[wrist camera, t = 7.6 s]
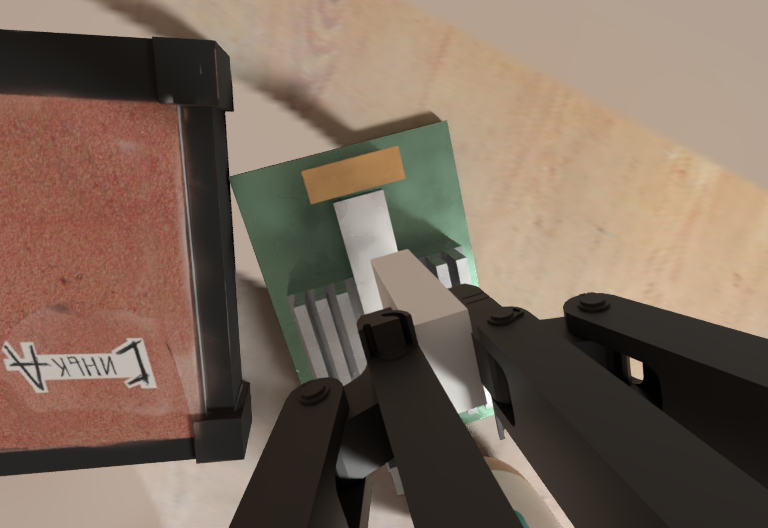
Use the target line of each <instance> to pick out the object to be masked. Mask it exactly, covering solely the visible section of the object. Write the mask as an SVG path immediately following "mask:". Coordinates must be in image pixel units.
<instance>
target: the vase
mask: <svg viewBox="0 0 768 528" xmlns="http://www.w3.org/2000/svg"><path fill="white" fill-rule="evenodd" d="M483 457H484V459H485V461H486V463H487V464H488V466H489V468H490V470H491V471H492V473H493V475H494V476H495V478H496V480H497V482H498V483H499V485H500V487H501V489H502V490H503V492H504V494H505V496H506V497H507V499H508V501H509V502H510V504H511V506H512V508H513V509H514V511H515V513H516V515H517V516H518V518H519V520H520V522H521V523H522V525H523V527H524V528H562V526H561V525H560V523H559V522H558V520H557V519H556V517H555V516H554V514H553V513H552V512H551V510H550V509H549V507H548V506H547V505H546V503H545V502H544V501H543V499H542V498H541V497H540V495H539V494H538V493H537V492H536V490H535V489H534V488H533V487H532V485H531V484H530V483H529V482H528V481H527V480H526V479H525V478H524V477H523V476H522V475H521V474H520V473H519V472H518V471H517V470H516V469H514V468H513V467H511V466H510V465H508V464H506V463H505V462H502V461H500V460H498V459H495V458H491V457H486V456H483Z"/></svg>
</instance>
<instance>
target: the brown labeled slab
mask: <svg viewBox="0 0 768 528" xmlns="http://www.w3.org/2000/svg"><path fill="white" fill-rule="evenodd" d="M225 111H226V112H234V103H233V87H232V77H231V73H230V57H229V56H228V54H227V53H226V52H225V51H224V50H223V49H222V48H221V47H220V46H219V45H218V43H217V42H216V41H213V40H197V39H181V38H164V37H152V39H150V38H133V37H117V36H100V35H84V34H68V33H52V32H35V31H17V30H2V29H0V476H9V475H19V474H32V473H42V472H55V471H66V470H77V469H89V468H100V467H111V466H122V465H134V464H145V463H156V462H168V461H179V460H190V459H196V464H198V463H209V462H220V461H231V460H243V459H244V457H245V452H246V448H247V443H248V438H249V433H250V428H251V423H252V411H251V395H250V383H242V373H241V358H240V343H239V328H238V313H237V298H236V283H235V271H236V265H235V251H234V235H233V220H232V207H231V206H232V205H231V191H230V181H229V178H228V177H230V175H229V161H228V147H227V146H228V145H227V131H226V116H225Z"/></svg>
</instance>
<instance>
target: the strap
mask: <svg viewBox="0 0 768 528" xmlns="http://www.w3.org/2000/svg"><path fill="white" fill-rule="evenodd" d="M333 205H334V208H335V212H336V215H337V219H338V222H339V226H340V230H341V233H342V237H343V240H344V244H345V247H346V251H347V254H348V258H349V261H350V265H351V269H352V272H353V276H354V279H355V283H356V286H357V290H358V293H359V297H360V300H361V304H362V308H363V311H364V315H365V314H368V313H372V312H375V311H378V310H382V309H383V306H382V302H381V299H380V295H379V291H378V287H377V284H376V280H375V276H374V273H373V269H372V265H371V261H370V260H371V259H374V258H378V257H381V256H384V255H388V254H391V253H395V252H398V250H397V246H396V242H395V237H394V233H393V229H392V225H391V221H390V216H389V212H388V208H387V204H386V200H385V196H384V191H383V189H382V188H378V189H374V190H371V191H367V192H363V193H360V194H356V195H352V196H349V197H345V198H341V199H338V200H334V201H333Z"/></svg>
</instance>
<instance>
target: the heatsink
mask: <svg viewBox="0 0 768 528" xmlns="http://www.w3.org/2000/svg"><path fill="white" fill-rule="evenodd" d="M228 178H229V181H230V183H231V186H232V189H233V192H234V195H235V198H236V200H237V203H238V206H239V209H240V212H241V215H242V218H243V220H244V223H245V226H246V229H247V232H248V234H249V238H250V241H251V243H252V246H253V249H254V252H255V255H256V258H257V261H258V263H259V266H260V269H261V272H262V275H263V278H264V281H265V284H266V286H267V289H268V292H269V295H270V298H271V301H272V304H273V306H274V309H275V312H276V315H277V318H278V321H279V324H280V326H281V329H282V332H283V335H284V338H285V341H286V344H287V346H288V349H289V352H290V355H291V358H292V361H293V364H294V366H295V369H296V372H297V375H298V378H299V381H300V384H301V385H302V384H303V383H307V381H310V380H315V379H318V378H326V377H331V378H336V379H338V380H339V381H340V382H342V384H343V386H344V385H346V384H348V383H350V382H351V381H353V380H354V379H356V378H357V377H358V376H359V375H361V374H362V372H363V371H364V370H365V368H366V365H367V361H366V358H365V354H364V351H363V347H362V344H361V340H360V337H359V334H358V329H357V325H356V324H357V322H358V320H359V318H360V316H362V315H364V311H363V308H362V304H361V300H360V297H359V293H358V290H357V286H356V283H355V279H354V276H353V272H352V269H351V265H350V261H349V258H348V254H347V251H346V247H345V244H344V240H343V237H342V233H341V230H340V226H339V222H338V219H337V215H336V212H335V208H334V205H333V201H334V200H338V199H341V198H345V197H349V196H352V195H356V194H360V193H363V192H367V191H371V190H374V189H378V188H382V189H383V191H384V196H385V200H386V204H387V208H388V212H389V216H390V221H391V225H392V229H393V233H394V237H395V242H396V246H397V250H398V251H402V250H405V249H408V250H409V251H410V252H411V253H412V254H413V255H414V256H415V257H416V258H417V259H418V260H419V261H420V262H421V263H422V264H423V265H424V266H425V267H426V268H427V269H428V270H429V271H430V272H431V273H432V274H433V275H434V276H435V277H436V278H437V279H438V280H439V281H440V282H441V283H442V284H443V285H444V286H445V287H446V288H451V287H454V286H457V285H461V284H464V283H466V284H470V285H474V286H477V287H479V285H478V280H477V275H476V269H475V264H474V259H473V254H472V249H471V243H470V238H469V233H468V228H467V223H466V217H465V212H464V207H463V202H462V197H461V191H460V186H459V181H458V176H457V170H456V165H455V160H454V155H453V150H452V144H451V139H450V134H449V129H448V124H447V120H446V121H441V122H437V123H433V124H429V125H425V126H422V127H418V128H414V129H410V130H406V131H402V132H399V133H395V134H391V135H387V136H383V137H379V138H376V139H372V140H368V141H364V142H360V143H356V144H353V145H349V146H345V147H341V148H337V149H333V150H330V151H326V152H322V153H318V154H314V155H310V156H307V157H303V158H299V159H296V160H291V161H287V162H284V163H280V164H276V165H272V166H268V167H264V168H261V169H257V170H253V171H249V172H245V173H241V174H238V175H234V176H230V177H228ZM484 390H485V395H486V400H487V404H486V405H483V406H480V407H477V408H474V409H471V410H468V411H465V412H462V413H459V416H460V417H461V419H462V421H463V423H464V424H468V423H471V422H474V421H477V420H480V419H483V418H486V417H489V416H492V415H495V414H494V409H493V404H492V399H491V395H490V393H489V392H488V391H487V389H486V388H485V387H484ZM386 466H387V470H388V473H389V472H391V475H392V479H393V482H394V485H395V489H396V492H397V495H398V496H399V495H402V494H405V493H404V490H403V486H402V483H401V479H400V476H399V472H398V469H397V465H396V462H395V458H393V459H392V460H390V461H389V462H387V463H386Z"/></svg>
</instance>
